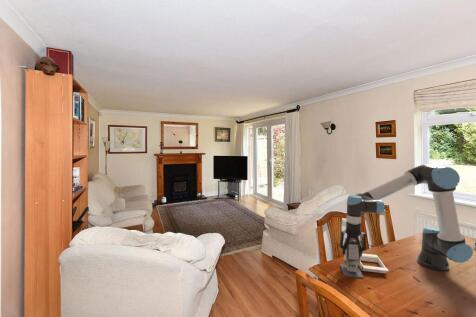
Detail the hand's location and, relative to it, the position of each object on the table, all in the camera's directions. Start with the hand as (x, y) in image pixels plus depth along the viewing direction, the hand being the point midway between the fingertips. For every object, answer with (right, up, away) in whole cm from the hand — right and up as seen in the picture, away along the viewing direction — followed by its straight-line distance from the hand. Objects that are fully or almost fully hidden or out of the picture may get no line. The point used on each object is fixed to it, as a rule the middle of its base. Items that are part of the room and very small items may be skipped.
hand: (351, 260), depth 137 cm
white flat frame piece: (+15, -6, +6) cm, 17 cm away
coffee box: (0, -5, 0) cm, 5 cm away
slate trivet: (0, -7, +1) cm, 7 cm away
